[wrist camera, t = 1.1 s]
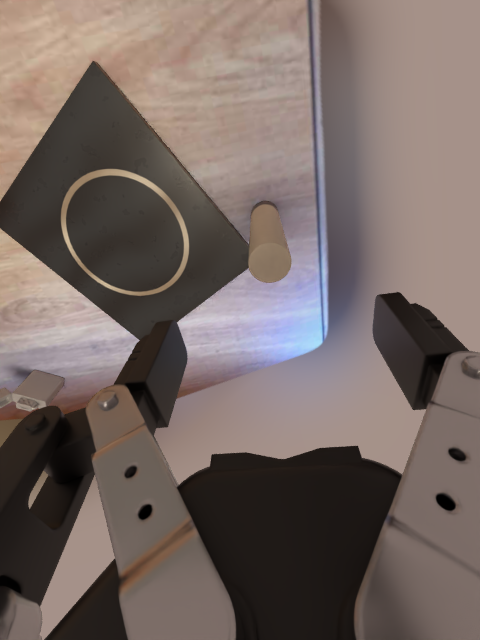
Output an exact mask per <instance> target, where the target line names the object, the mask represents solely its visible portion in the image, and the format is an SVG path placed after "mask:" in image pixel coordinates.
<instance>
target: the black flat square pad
mask: <svg viewBox="0 0 480 640" xmlns="http://www.w3.org/2000/svg"><path fill="white" fill-rule="evenodd" d="M0 228H1V229H2V230H3V231H4V232H6V233H7V234H8V235H9V236H11V237H12V238H13V239H14V240H16V241H17V242H18V243H19V244H21V245H22V246H23V247H24V248H26V249H27V250H28V251H29V252H31V253H32V254H33V255H34V256H35V257H37V258H38V259H39V260H40V261H42V262H43V263H44V264H45V265H47V266H48V267H49V268H50V269H52V270H53V271H54V272H55V273H57V274H58V275H59V276H60V277H62V278H63V279H64V280H65V281H67V282H68V283H69V284H70V285H72V286H73V287H74V288H75V289H77V290H78V291H79V292H80V293H82V294H83V295H84V296H85V297H87V298H88V299H89V300H90V301H91V302H93V303H94V304H95V305H96V306H98V307H99V308H100V309H101V310H103V311H104V312H105V313H106V314H108V315H109V316H110V317H111V318H113V319H114V320H115V321H116V322H118V323H119V324H120V325H121V326H123V327H124V328H125V329H126V330H128V331H129V332H130V333H131V334H133V335H134V336H135V337H136V338H138V339H139V340H141V339H142V338H143V337H144V336H145V335H150V333H151V331H152V329H153V327H154V325H155V323H156V322H161V321H169V320H175V321H176V322H178V321H179V320H180V319H181V318H183V317H184V316H185V315H187V314H188V313H189V312H191V311H192V310H193V309H195V308H196V307H197V306H199V305H200V304H201V303H203V302H204V301H205V300H207V299H208V298H209V297H210V296H212V295H213V294H214V293H216V292H217V291H218V290H220V289H221V288H222V287H224V286H225V285H226V284H228V283H229V282H230V281H232V280H233V279H234V278H236V277H237V276H238V275H239V274H241V273H242V272H243V271H245V270H246V269H247V268H249V266H248V259H249V245H248V244H247V243H246V241H245V240H244V239H243V238H242V237H241V235H240V234H239V233H238V232H237V231H236V229H235V228H234V227H233V226H232V225H231V223H230V222H229V221H228V220H227V219H226V217H225V216H224V215H223V214H222V213H221V211H220V210H219V209H218V208H217V206H216V205H215V204H214V203H213V202H212V200H211V199H210V198H209V197H208V196H207V194H206V193H205V192H204V191H203V190H202V188H201V187H200V186H199V185H198V184H197V182H196V181H195V180H194V179H193V178H192V176H191V175H190V174H189V173H188V172H187V170H186V169H185V168H184V167H183V166H182V164H181V163H180V162H179V161H178V160H177V158H176V157H175V156H174V155H173V154H172V152H171V151H170V150H169V149H168V148H167V146H166V145H165V144H164V143H163V142H162V140H161V139H160V138H159V137H158V136H157V134H156V133H155V132H154V131H153V130H152V128H151V127H150V126H149V125H148V123H147V122H146V121H145V120H144V119H143V117H142V116H141V115H140V114H139V113H138V111H137V110H136V109H135V108H134V107H133V105H132V104H131V103H130V102H129V101H128V99H127V98H126V97H125V96H124V95H123V93H122V92H121V91H120V90H119V89H118V87H117V86H116V85H115V84H114V83H113V81H112V80H111V79H110V78H109V77H108V75H107V74H106V73H105V72H104V71H103V69H102V68H101V67H100V66H99V65H98V63H97V62H95V61H93V62H92V63H91V65H90V66H89V68H88V69H87V71H86V72H85V74H84V75H83V77H82V78H81V80H80V81H79V83H78V84H77V86H76V87H75V89H74V90H73V92H72V93H71V95H70V97H69V98H68V100H67V101H66V103H65V104H64V106H63V107H62V109H61V110H60V112H59V113H58V115H57V116H56V118H55V119H54V121H53V122H52V124H51V125H50V127H49V128H48V130H47V131H46V133H45V135H44V136H43V138H42V139H41V141H40V142H39V144H38V145H37V147H36V148H35V150H34V151H33V153H32V154H31V156H30V157H29V159H28V160H27V162H26V163H25V165H24V166H23V168H22V169H21V171H20V173H19V174H18V176H17V177H16V179H15V180H14V182H13V183H12V185H11V186H10V188H9V189H8V191H7V192H6V194H5V195H4V197H3V198H2V200H1V201H0Z"/></svg>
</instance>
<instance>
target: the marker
mask: <svg viewBox="0 0 480 640" xmlns="http://www.w3.org/2000/svg"><path fill="white" fill-rule="evenodd" d="M248 266H249V270H250V272H251V274H252V275H253V276H254V277H255V278H256V279H258V280H259V281H262V282H266V283H272V282H276V281H279V280H281V279H282V278H284V277H285V276H286V275H287V273H288V272H289V270H290V267H291V256H290V252H289V249H288V245H287V242H286V238H285V234H284V231H283V227H282V224H281V220H280V217H279V213H278V210H277V208H276V206H275V205H274V204H273V203H271V202H269V201H261V202H259V203H257V204H256V205H255V206H254V207H253V209H252V212H251V223H250V241H249V259H248Z"/></svg>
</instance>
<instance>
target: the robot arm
mask: <svg viewBox="0 0 480 640" xmlns="http://www.w3.org/2000/svg"><path fill="white" fill-rule="evenodd" d="M373 337H374V341H375V344H376V345H377V347H378V349H379V351H380V352H381V354H382V356H383V358H384V360H385V361H386V363H387V365H388V367H389V368H390V370H391V372H392V374H393V376H394V377H395V379H396V381H397V383H398V384H399V386H400V388H401V390H402V391H403V393H404V395H405V397H406V398H407V400H408V402H409V404H410V405H411V407H412V409H413V410H421V409H426V412H425V414H424V417H423V420H422V423H421V425H420V428H419V431H418V434H417V436H416V439H415V442H414V445H413V447H412V450H411V453H410V456H409V458H408V461H407V464H406V467H405V469H404V472H403V475H402V474H401V473H399V472H398V471H396V470H394V469H392V468H390V467H388V466H386V465H383V464H381V463H378V462H376V461H372V460H369V459H365V458H362V457H361V454H360V451H359V448H358V446H347V447H329V448H319V449H316V450H313V451H309V452H306V453H303V454H300V455H297V456H293V457H290V458H287V459H277V458H272V457H266V456H261V455H256V454H251V453H230V454H229V453H228V454H214V455H213V454H212V456H211V464H210V467H207V468H204V469H202V470H200V471H198V472H196V473H194V474H193V475H191V476H190V477H188V478H187V479H186V480H184V481H183V482H182V483H181V484H180V485H179V484H178V482H177V480H176V478H175V477H174V475H173V473H172V470H171V468H170V467H169V465H168V463H167V461H166V459H165V457H164V455H163V453H162V451H161V449H160V447H159V445H158V443H157V441H156V439H155V437H154V433H155V430H156V428H162V427H168V425H169V421H170V418H171V414H172V411H173V408H174V404H175V401H176V398H177V394H178V391H179V388H180V384H181V381H182V377H183V374H184V371H185V367H186V364H187V350H186V347H185V344H184V341H183V338H182V335H181V333H180V330H179V327H178V324H177V322H176V321H175V320H169V321H161V322H156V323H155V325H154V327H153V329H152V331H151V333H150V335H145V336H144V337H143V338H142V339H141V340H140V341H139V342H138V343H137V344H136V346H135V348H134V349H133V351H132V354H131V355H130V356H129V358H128V361H127V362H126V364H125V365H124V367H123V369H122V371H121V372H120V374H119V376H118V378H117V380H116V381H115V383H114V385H111V386H108V387H106V388H104V389H102V390H100V391H99V392H97V393H96V394H95V395H94V396H93V397H92V398H91V399H90V400H89V402H88V403H87V406H86V408H83V409H80V410H77V411H74V412H71V413H68V414H65V415H64V414H63V413H62V411H61V410H60V409H59V408H58V407H56V406H46V407H43V408H40V409H38V410H36V411H34V412H32V413H31V414H29V415H28V416H26V417H25V418H24V419H23V420H22V421H21V422H20V423H19V424H18V425H17V426H16V428H15V429H14V430H13V432H12V433H11V434H10V435H9V437H8V438H7V439H6V441H5V442H4V443H3V445H2V446H1V447H0V640H42V638H41V636H40V631H41V626H42V612H41V609H40V605H41V603H42V600H43V598H44V595H45V593H46V591H47V588H48V586H49V583H50V581H51V579H52V576H53V574H54V571H55V569H56V567H57V564H58V562H59V559H60V557H61V555H62V552H63V550H64V547H65V545H66V543H67V540H68V538H69V535H70V533H71V531H72V528H73V526H74V523H75V521H76V518H77V516H78V514H79V511H80V509H81V506H82V504H83V502H84V499H85V497H86V494H87V492H88V489H89V487H90V485H91V482H92V480H93V477H94V475H95V476H96V480H97V484H98V489H99V493H100V497H101V502H102V505H103V510H104V514H105V518H106V522H107V527H108V531H109V535H110V539H111V543H112V547H113V552H114V556H115V559H114V560H113V561H112V562H111V563H110V564H109V566H108V567H107V568H106V569H105V570H104V571H103V572H102V574H101V575H100V576H99V577H98V578H97V579H96V581H95V582H94V583H93V584H92V585H91V586H90V587H89V589H88V590H87V591H86V592H85V593H84V595H83V596H82V597H81V598H80V599H79V600H78V601H77V603H76V604H75V605H74V606H73V607H72V608H71V609H70V611H69V612H68V613H67V614H66V615H65V616H64V618H63V619H62V620H61V621H60V622H59V623H58V625H57V626H56V627H55V628H54V629H53V630H52V631H51V633H50V634H49V635H48V636H47V637H46V638H45V639H44V640H480V353H478V352H473V351H469V350H468V349H467V348H465V346H464V345H463V344H462V343H461V342H460V341H459V340H458V339H457V338H456V337H455V336H454V335H453V334H452V333H451V332H450V331H449V330H448V329H447V328H446V327H444V325H443V324H442V323H441V322H440V321H439V320H437V317H436V316H435V315H434V314H432V312H431V311H430V310H428V309H426V308H424V307H422V306H420V305H418V304H416V303H414V304H410V303H409V302H408V301H407V300H406V299H405V297H404V296H403V295H402V294H401V293H399V292H397V293H389V294H381V295H377V296H376V299H375V308H374V320H373ZM43 470H44V471H45V472H46V473H47V474H48V477H47V479H46V481H45V483H44V485H43V486H42V488H41V490H40V492H39V494H38V495H37V497H36V499H35V501H34V503H33V504H32V506H31V508H30V510H29V507H28V500H29V496H30V493H31V491H32V489H33V488H34V486H35V484H36V482H37V481H38V479H39V477H40V475H41V474H42V472H43Z"/></svg>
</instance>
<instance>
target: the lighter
mask: <svg viewBox="0 0 480 640" xmlns="http://www.w3.org/2000/svg"><path fill="white" fill-rule="evenodd" d="M63 385H64V378H62V377H59V376H55V375H52V374H48V373H44V372H41V371H37V370H33V371H32V373H31V374H30V375H29V376H28V377H27V378H26V379H25V380H24V381H23V382H22V383H21V384H20V385H19V386H18V388H17V389H16V390H15V391H14V392H13V393H11V392H10V391H9V390H8V389H6V388H2V389H0V408H1V407H3V406H5V405H7V404H9V403H11V402H12V401H14V402H17V403H16V407H17V408H19V409H23V410H27V411H31V410H34V409H36V408H43V407H46V406H48V405H49V404H50V403H51V401H52V400H53V399H54V397H55V396H56V395H57V393H58V392H59V391H60V389H61V388H62V387H63Z"/></svg>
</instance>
